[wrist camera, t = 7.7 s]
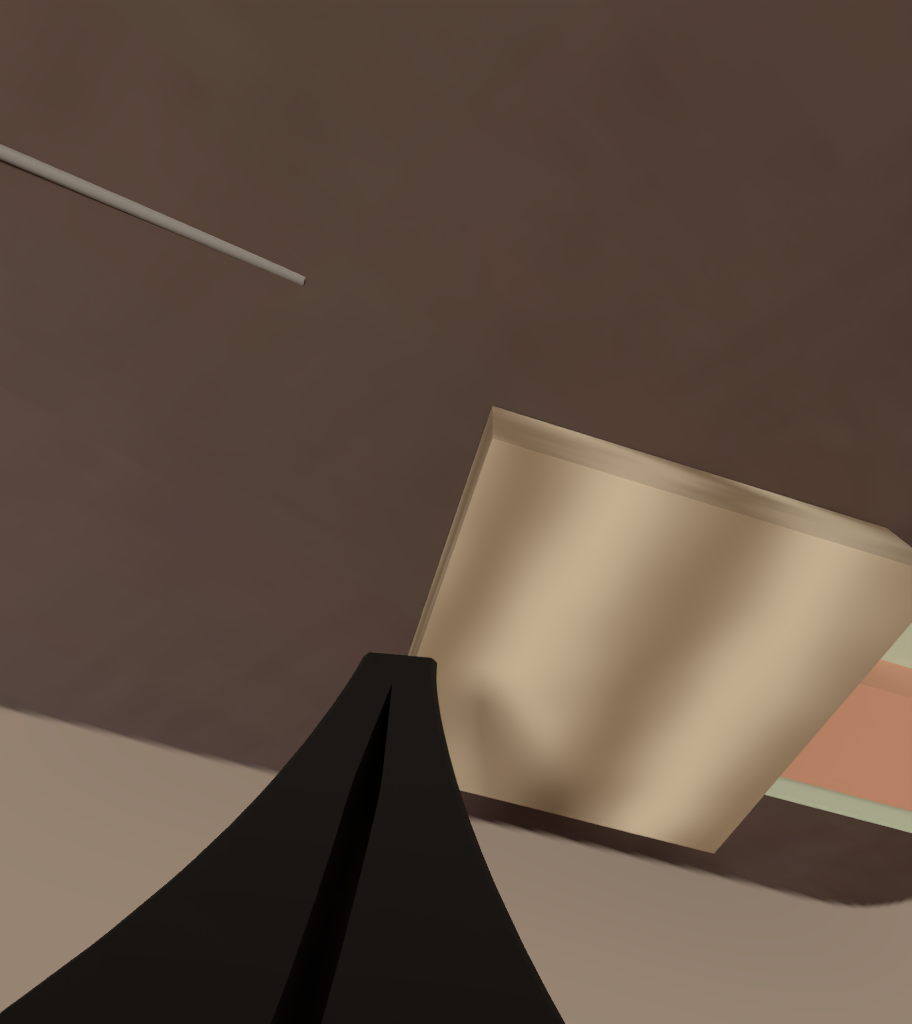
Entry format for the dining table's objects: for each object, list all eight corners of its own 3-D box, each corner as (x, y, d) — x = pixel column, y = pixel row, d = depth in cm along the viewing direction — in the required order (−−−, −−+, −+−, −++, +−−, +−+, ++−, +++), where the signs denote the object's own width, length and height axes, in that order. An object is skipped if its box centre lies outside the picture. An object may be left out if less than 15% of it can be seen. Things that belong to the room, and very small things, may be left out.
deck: (389, 709, 24) (377, 769, 22) (492, 406, 18) (492, 438, 15) (690, 787, 26) (714, 853, 23) (886, 528, 19) (950, 577, 17)
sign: (279, 367, 18) (-254, 153, 16) (288, 360, 18) (-219, 157, 16) (326, 187, 15) (-292, -91, 13) (333, 189, 16) (-251, -75, 14)
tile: (749, 731, 23) (770, 773, 22) (818, 641, 21) (848, 680, 19) (921, 778, 24) (956, 823, 22) (1007, 696, 22) (1053, 738, 20)
